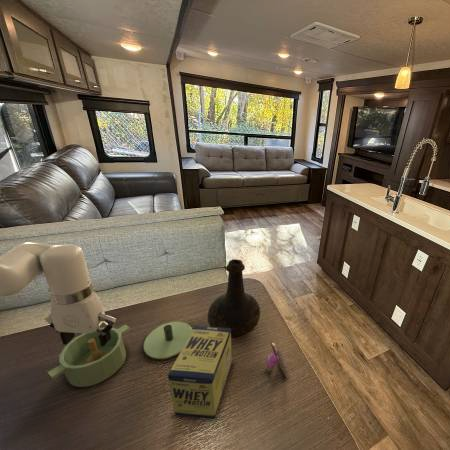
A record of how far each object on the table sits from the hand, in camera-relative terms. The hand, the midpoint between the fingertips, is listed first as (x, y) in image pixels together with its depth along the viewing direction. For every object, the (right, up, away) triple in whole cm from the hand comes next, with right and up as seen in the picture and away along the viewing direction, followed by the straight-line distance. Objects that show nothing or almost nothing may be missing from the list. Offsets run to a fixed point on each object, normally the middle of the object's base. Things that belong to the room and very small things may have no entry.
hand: (88, 341), depth 69 cm
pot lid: (+16, -6, +13) cm, 21 cm away
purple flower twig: (+51, -12, +8) cm, 53 cm away
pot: (0, -9, +4) cm, 9 cm away
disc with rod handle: (0, -8, +4) cm, 9 cm away
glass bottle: (+36, -5, +21) cm, 42 cm away
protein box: (+33, -14, +1) cm, 36 cm away
